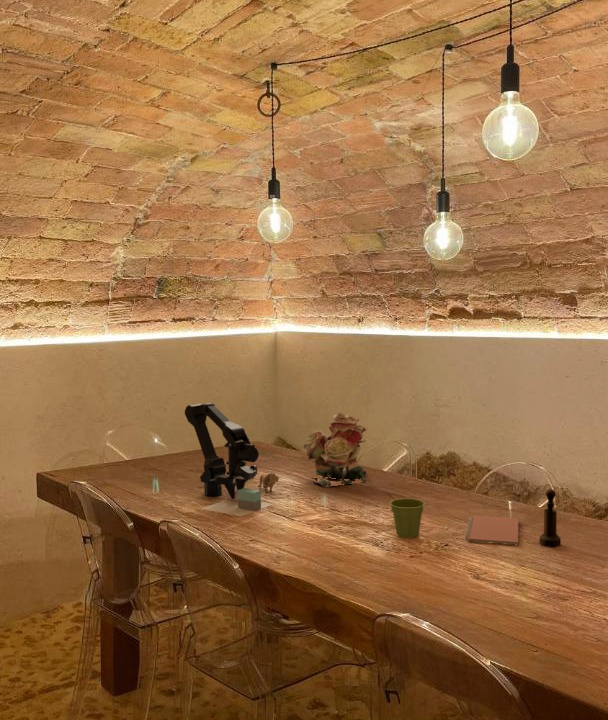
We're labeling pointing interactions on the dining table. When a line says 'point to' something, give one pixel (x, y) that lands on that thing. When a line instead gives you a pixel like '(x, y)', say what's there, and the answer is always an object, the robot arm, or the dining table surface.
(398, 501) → the plant pot
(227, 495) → the mauve brick
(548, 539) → the black pepper mill
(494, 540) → the notebook
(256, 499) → the teal brick
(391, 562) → the dining table surface
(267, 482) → the lion figurine
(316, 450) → the rose bouquet
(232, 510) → the baseplate
